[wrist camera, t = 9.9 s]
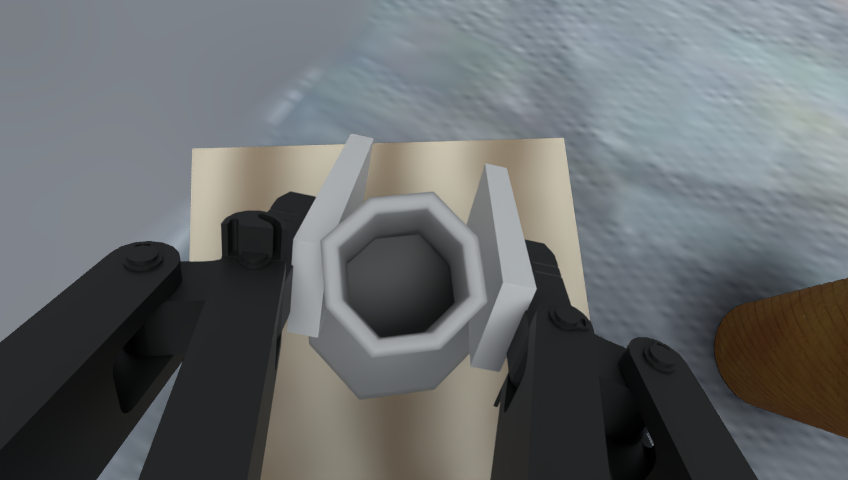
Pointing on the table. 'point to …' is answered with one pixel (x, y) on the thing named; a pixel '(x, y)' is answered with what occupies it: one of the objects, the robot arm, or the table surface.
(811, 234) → the table surface
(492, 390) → the birch board
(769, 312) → the disposable coffee cup
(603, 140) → the table surface
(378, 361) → the flask
